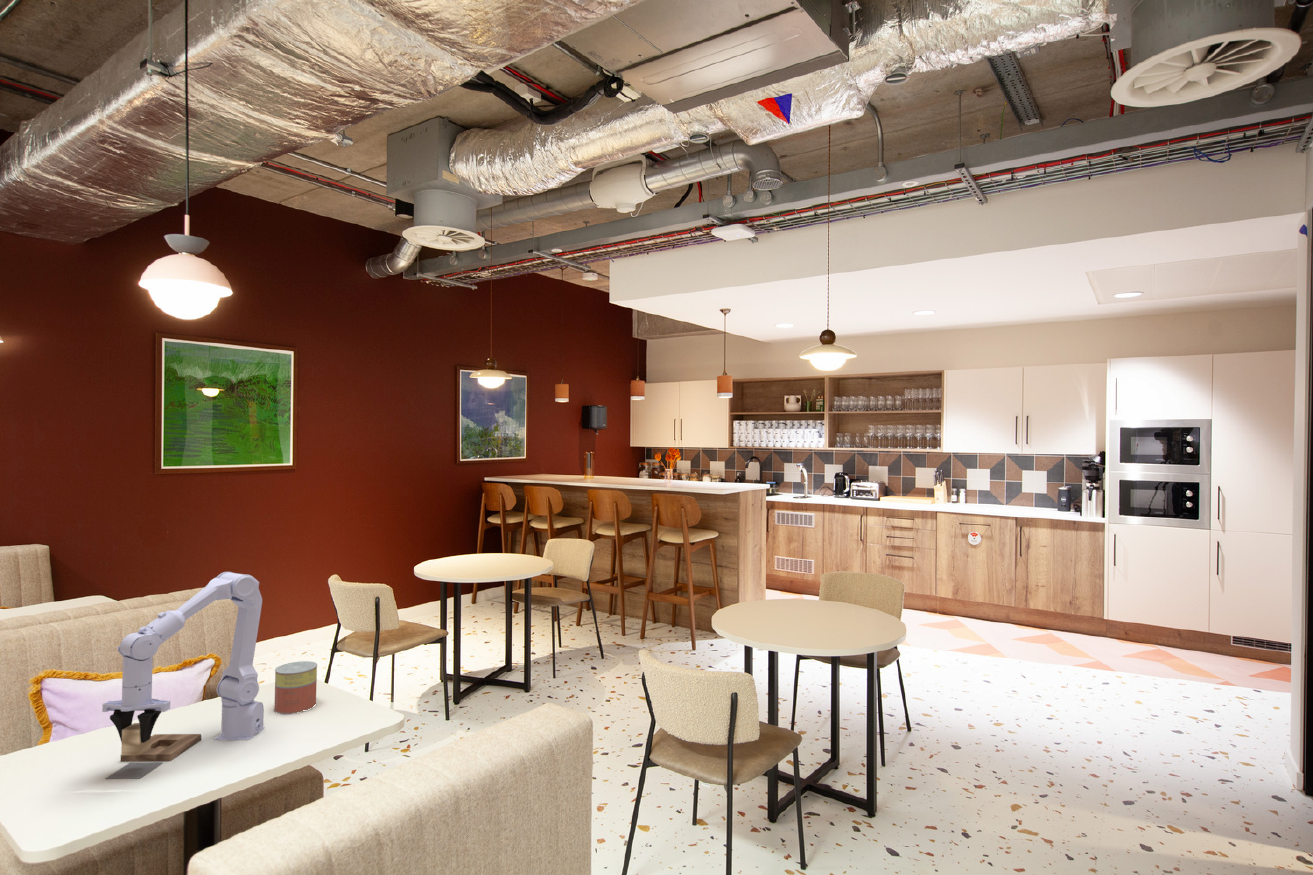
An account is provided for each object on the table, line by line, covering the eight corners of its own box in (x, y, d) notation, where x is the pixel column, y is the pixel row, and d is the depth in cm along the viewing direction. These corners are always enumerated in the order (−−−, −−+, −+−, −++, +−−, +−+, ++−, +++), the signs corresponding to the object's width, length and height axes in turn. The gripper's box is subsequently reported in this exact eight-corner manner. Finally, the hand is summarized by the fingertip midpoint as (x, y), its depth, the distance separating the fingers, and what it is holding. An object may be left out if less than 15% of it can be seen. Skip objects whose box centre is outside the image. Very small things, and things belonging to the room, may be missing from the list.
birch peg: (150, 747, 164) (151, 722, 164) (138, 755, 160) (139, 729, 160) (133, 747, 164) (134, 722, 164) (121, 755, 160) (122, 729, 160)
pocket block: (201, 741, 179) (201, 733, 179) (170, 762, 167) (170, 754, 167) (154, 741, 178) (154, 734, 178) (120, 762, 166) (120, 754, 166)
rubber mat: (163, 764, 166) (163, 762, 166) (140, 780, 158) (140, 778, 158) (130, 764, 165) (130, 762, 165) (104, 780, 157) (104, 778, 157)
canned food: (324, 700, 208) (324, 661, 209) (301, 715, 197) (302, 673, 197) (289, 699, 209) (290, 660, 210) (265, 713, 198) (266, 672, 198)
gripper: (92, 689, 158) (91, 748, 157) (156, 689, 158) (155, 747, 158) (115, 679, 165) (114, 735, 164) (176, 679, 165) (175, 735, 165)
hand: (135, 740), depth 162 cm, fingers closed on birch peg, 4 cm apart
